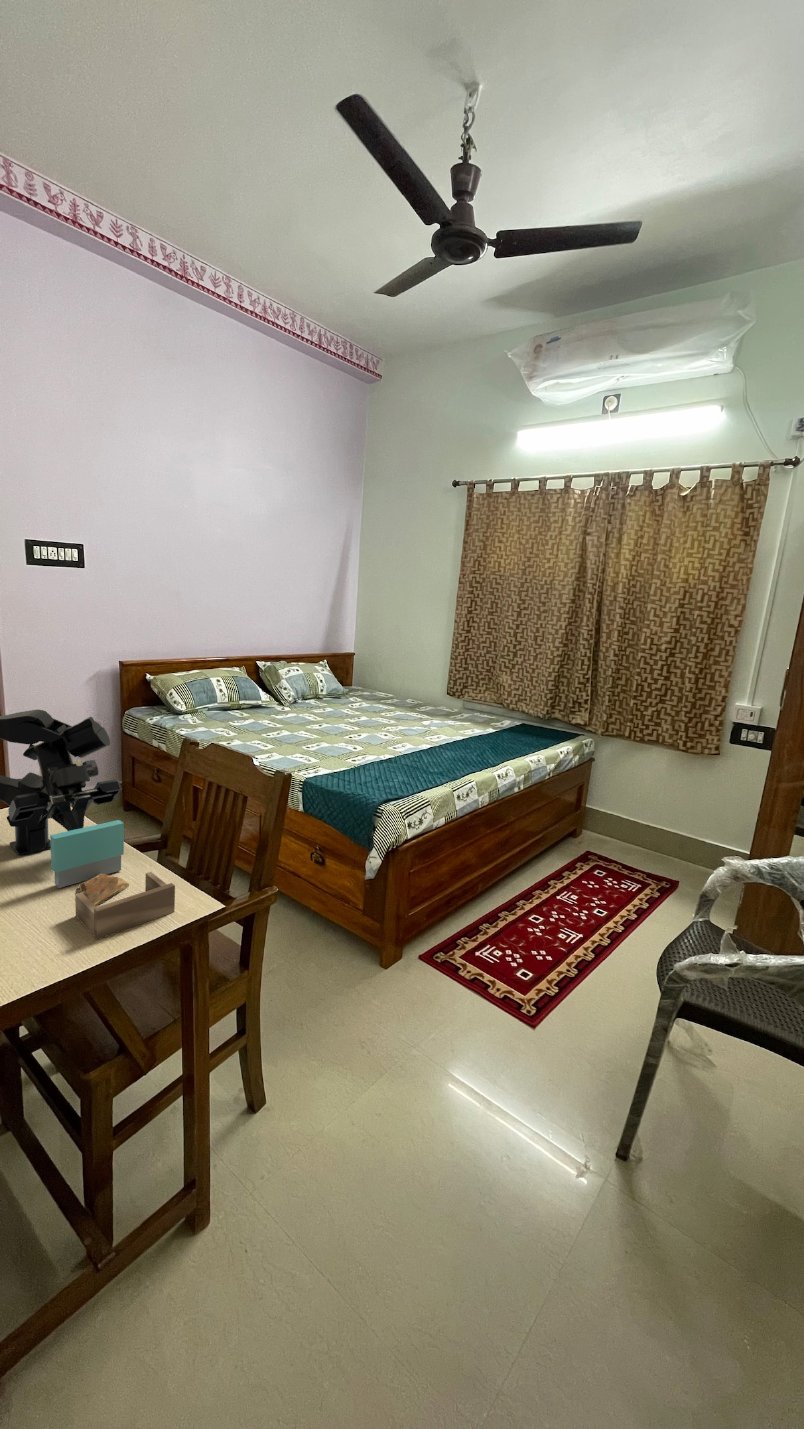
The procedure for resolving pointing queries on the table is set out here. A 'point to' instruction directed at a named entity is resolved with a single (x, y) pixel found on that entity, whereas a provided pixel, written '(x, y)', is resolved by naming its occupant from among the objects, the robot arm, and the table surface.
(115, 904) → the box
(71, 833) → the block
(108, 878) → the shard
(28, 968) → the table surface
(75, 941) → the table surface
